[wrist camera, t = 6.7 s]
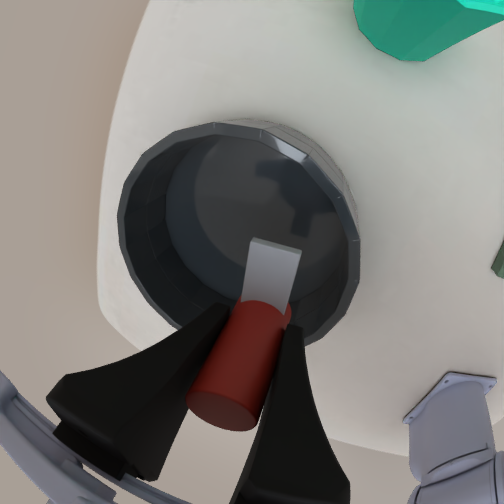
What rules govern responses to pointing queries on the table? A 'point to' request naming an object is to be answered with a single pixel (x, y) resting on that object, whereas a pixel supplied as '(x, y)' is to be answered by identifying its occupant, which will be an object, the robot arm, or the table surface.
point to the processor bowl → (238, 221)
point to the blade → (247, 342)
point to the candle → (423, 24)
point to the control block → (499, 263)
